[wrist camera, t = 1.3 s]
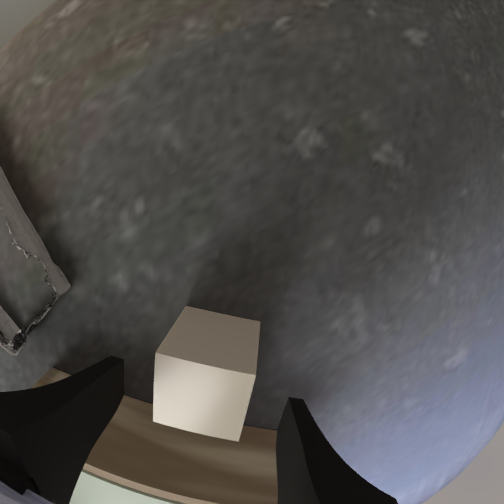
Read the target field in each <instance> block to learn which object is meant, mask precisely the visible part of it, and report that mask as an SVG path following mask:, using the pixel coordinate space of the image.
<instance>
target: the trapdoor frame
mask: <svg viewBox="0 0 504 504" xmlns="http://www.w3.org/2000/svg"><path fill="white" fill-rule="evenodd" d="M69 376H71V375H69V374H67V373H64V372H62V371H60V370H58V369H55V368H53V367H52V368H51V369H50V370H49V371H48V372H47V373H46V374H45V375H44V376H43V377H42V378H41V379H40V380H39V381H38V382H37V383H36V384H35V385H34V386H33V387H32V388H36V387H40V386H44V385H47V384H51V383H54V382H56V381H59V380H62V379H64V378H66V377H69ZM276 438H277V430H270V429H263V428H257V427H251V426H245V425H243V427H242V431H241V435H240V438H239V442H238V441H232V440H227V439H222V438H217V437H212V436H207V435H203V434H199V433H194V432H190V431H186V430H182V429H178V428H174V427H171V426H167V425H163V424H160V423H156V422H153V404H151V403H148V402H144V401H141V400H138V399H135V398H132V397H129V396H125V395H124V396H123V399H122V401H121V403H120V405H119V407H118V409H117V411H116V413H115V414H114V416H113V418H112V419H111V421H110V422H109V424H108V425H107V427H106V428H105V430H104V431H103V433H102V434H101V436H100V437H99V439H98V440H97V442H96V443H95V445H94V447H93V448H92V450H91V452H90V454H89V456H88V458H87V460H86V462H85V464H84V467H83V469H84V470H87V471H89V472H91V473H94V474H96V475H98V476H101V477H103V478H106V479H108V480H111V481H114V482H116V483H119V484H122V485H125V486H128V487H130V488H133V489H136V490H139V491H143V492H146V493H149V494H152V495H156V496H159V497H163V498H166V499H170V500H174V501H178V502H182V503H186V504H277V501H278V484H277V466H276Z"/></svg>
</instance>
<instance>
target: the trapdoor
mask: <svg viewBox="0 0 504 504" xmlns="http://www.w3.org/2000/svg"><path fill="white" fill-rule="evenodd" d="M69 504H186V503H182V502H178V501H174V500H170V499H166V498H163V497H159V496H156V495H152V494H149V493H146V492H143V491H139V490H136V489H133V488H130V487H128V486H125V485H122V484H119V483H116V482H114V481H111V480H108V479H106V478H103V477H101V476H98V475H96V474H94V473H91V472H89V471H87V470H84V469H82V471H81V474H80V476H79V478H78V481H77V483H76V486H75V489H74V491H73V494H72V497H71V500H70V503H69Z"/></svg>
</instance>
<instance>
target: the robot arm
mask: <svg viewBox="0 0 504 504" xmlns="http://www.w3.org/2000/svg"><path fill="white" fill-rule="evenodd" d="M124 394H125V393H124V359H121V358H117V357H114V356H110V357H107V358H105V359H104V360H102V361H100V362H98V363H96V364H94V365H92V366H90V367H88V368H86V369H84V370H82V371H80V372H78V373H76V374H73V375H71V376H69V377H66V378H64V379H62V380H59V381H56V382H54V383H51V384H47V385H44V386H40V387H36V388H31V389H26V390H20V391H11V392H0V504H69V503H70V500H71V497H72V494H73V491H74V489H75V486H76V483H77V481H78V478H79V476H80V474H81V471H82V469H83V467H84V464H85V462H86V460H87V458H88V456H89V454H90V452H91V450H92V448H93V447H94V445H95V443H96V442H97V440H98V439H99V437H100V436H101V434H102V433H103V431H104V430H105V428H106V427H107V425H108V424H109V422H110V421H111V419H112V418H113V416H114V414H115V413H116V411H117V409H118V407H119V405H120V403H121V401H122V399H123V396H124ZM276 466H277V484H278V501H277V504H398V503H397V500H396V499H395V498H393V497H392V496H390V495H388V494H386V493H384V492H383V491H381V490H379V489H378V488H376V487H375V486H373V485H372V484H370V483H369V482H367V481H366V480H365V479H364V478H362V477H361V476H360V475H359V474H357V473H356V472H355V471H354V470H353V469H352V468H351V467H350V466H349V465H348V464H347V463H346V462H345V461H344V460H343V459H342V458H341V457H340V456H339V455H338V454H337V453H336V451H335V450H334V449H333V448H332V446H331V445H330V444H329V442H328V441H327V439H326V438H325V436H324V435H323V433H322V432H321V430H320V429H319V427H318V426H317V424H316V422H315V420H314V419H313V417H312V415H311V413H310V411H309V410H308V408H307V406H306V404H305V402H304V400H303V399H297V398H290V397H289V398H288V401H287V404H286V406H285V409H284V412H283V415H282V418H281V421H280V423H279V426H278V429H277V438H276Z"/></svg>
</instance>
